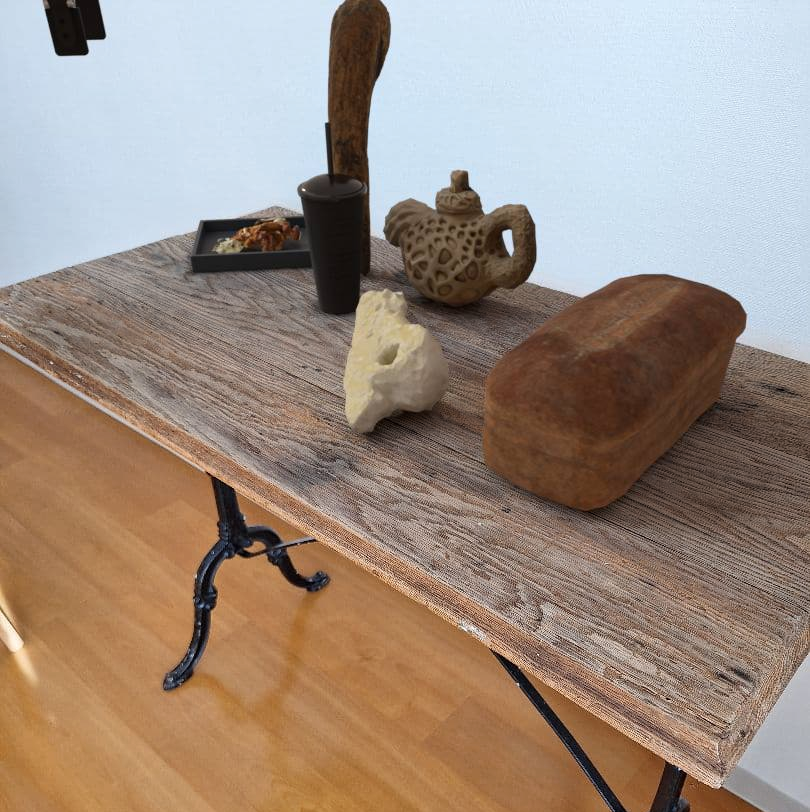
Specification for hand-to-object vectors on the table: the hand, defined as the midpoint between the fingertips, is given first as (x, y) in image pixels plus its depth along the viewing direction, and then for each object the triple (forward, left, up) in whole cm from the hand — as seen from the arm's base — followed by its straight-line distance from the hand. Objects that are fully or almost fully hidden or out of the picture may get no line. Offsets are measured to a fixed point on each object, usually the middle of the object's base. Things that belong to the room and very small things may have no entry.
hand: (82, 47), depth 85 cm
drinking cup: (+25, -8, -26) cm, 37 cm away
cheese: (+28, -30, -26) cm, 49 cm away
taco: (+15, +11, -26) cm, 32 cm away
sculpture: (+29, +2, -26) cm, 39 cm away
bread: (+48, -40, -26) cm, 68 cm away
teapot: (+39, -9, -26) cm, 48 cm away
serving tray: (+15, +12, -26) cm, 33 cm away
